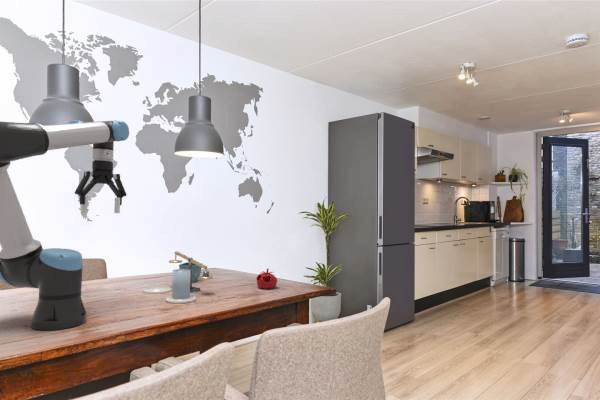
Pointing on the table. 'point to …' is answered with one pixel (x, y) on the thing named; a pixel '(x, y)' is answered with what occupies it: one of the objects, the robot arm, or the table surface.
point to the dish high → (157, 289)
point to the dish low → (180, 300)
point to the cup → (181, 284)
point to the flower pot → (195, 270)
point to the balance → (190, 262)
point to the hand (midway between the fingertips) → (101, 213)
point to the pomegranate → (266, 280)
